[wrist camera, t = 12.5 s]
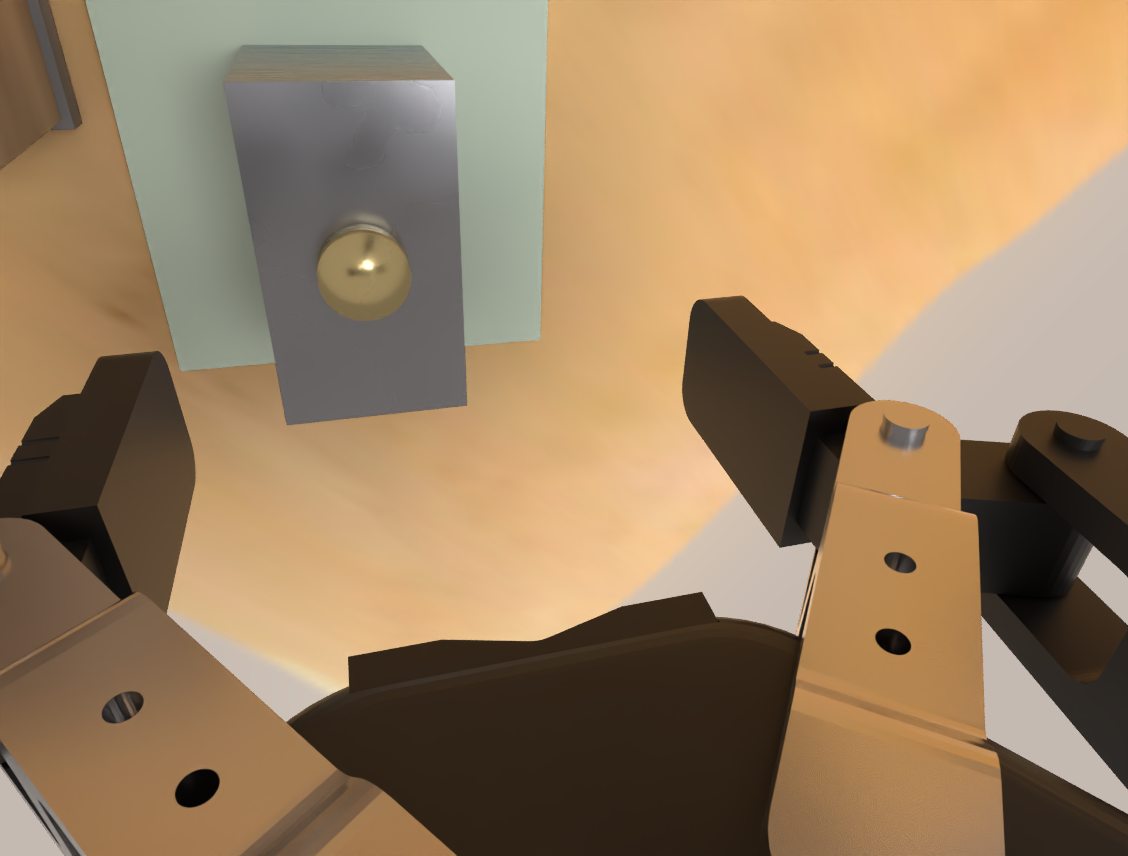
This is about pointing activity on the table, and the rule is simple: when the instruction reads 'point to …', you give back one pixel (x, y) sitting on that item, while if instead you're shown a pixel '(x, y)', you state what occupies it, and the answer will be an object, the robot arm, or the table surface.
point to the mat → (211, 172)
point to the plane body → (31, 78)
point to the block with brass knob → (354, 224)
